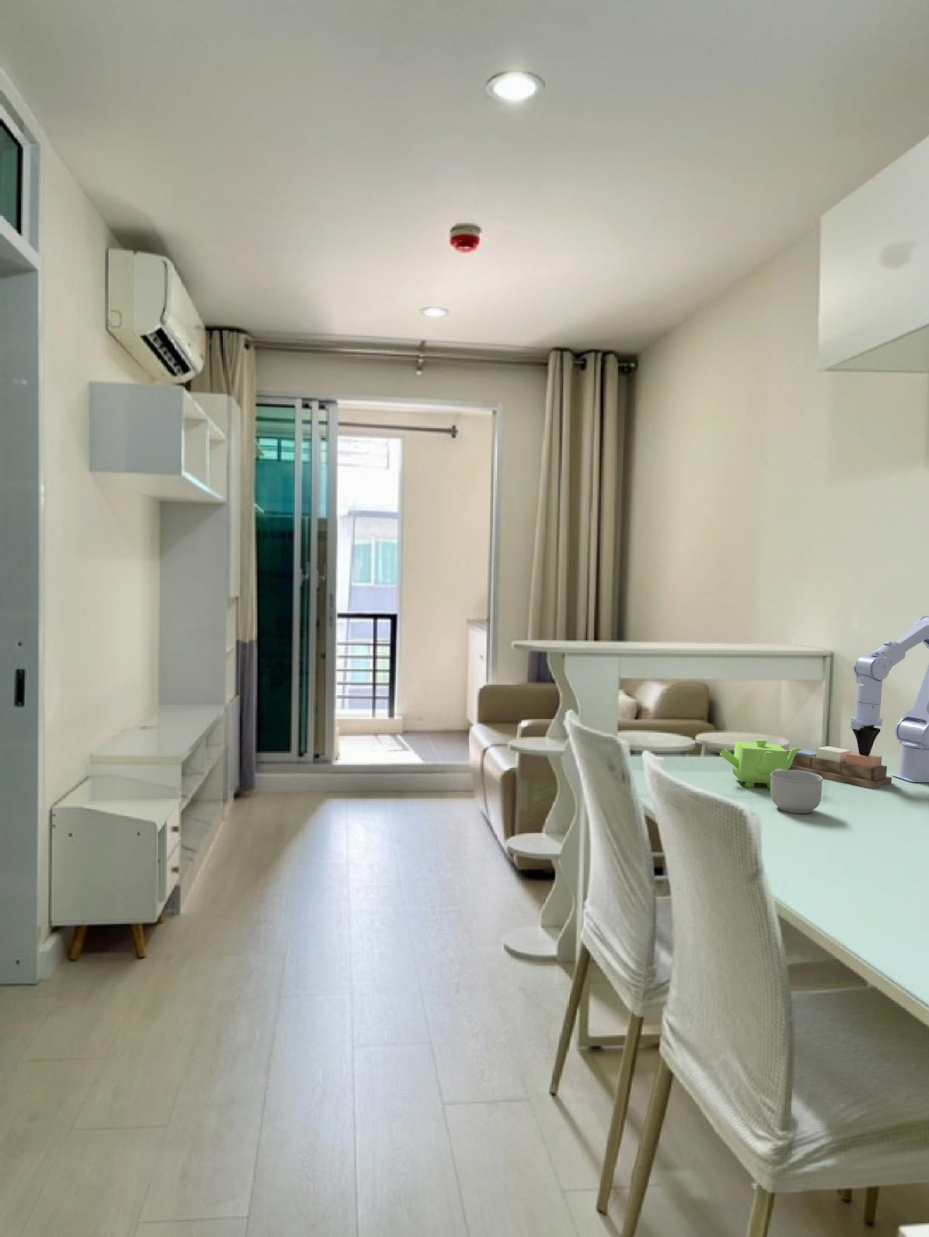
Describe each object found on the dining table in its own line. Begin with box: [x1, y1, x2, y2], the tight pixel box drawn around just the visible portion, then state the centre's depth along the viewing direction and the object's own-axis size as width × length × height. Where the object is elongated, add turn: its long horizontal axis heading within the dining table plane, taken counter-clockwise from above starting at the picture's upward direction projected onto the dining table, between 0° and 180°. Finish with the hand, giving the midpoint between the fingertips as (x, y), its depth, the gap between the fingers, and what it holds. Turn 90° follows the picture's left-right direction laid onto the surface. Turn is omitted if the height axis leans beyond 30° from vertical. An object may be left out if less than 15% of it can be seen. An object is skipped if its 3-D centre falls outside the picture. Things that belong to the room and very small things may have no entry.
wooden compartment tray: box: [786, 750, 893, 789], centre depth 233 cm, size 26×12×4 cm, turn 43°
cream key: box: [815, 745, 852, 763], centre depth 233 cm, size 6×6×3 cm
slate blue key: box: [787, 748, 816, 757], centre depth 239 cm, size 6×6×3 cm
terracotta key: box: [846, 751, 883, 769], centre depth 227 cm, size 6×6×3 cm
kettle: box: [719, 738, 805, 790], centre depth 217 cm, size 15×14×11 cm
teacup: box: [770, 769, 824, 814], centre depth 195 cm, size 14×11×8 cm
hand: (864, 754), depth 227 cm, fingers closed
